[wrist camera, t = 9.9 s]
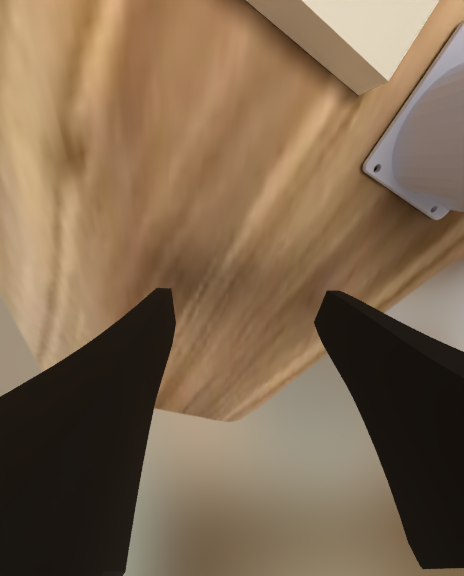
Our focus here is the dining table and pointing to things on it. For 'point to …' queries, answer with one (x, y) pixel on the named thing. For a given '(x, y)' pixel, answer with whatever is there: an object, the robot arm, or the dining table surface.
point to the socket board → (351, 34)
